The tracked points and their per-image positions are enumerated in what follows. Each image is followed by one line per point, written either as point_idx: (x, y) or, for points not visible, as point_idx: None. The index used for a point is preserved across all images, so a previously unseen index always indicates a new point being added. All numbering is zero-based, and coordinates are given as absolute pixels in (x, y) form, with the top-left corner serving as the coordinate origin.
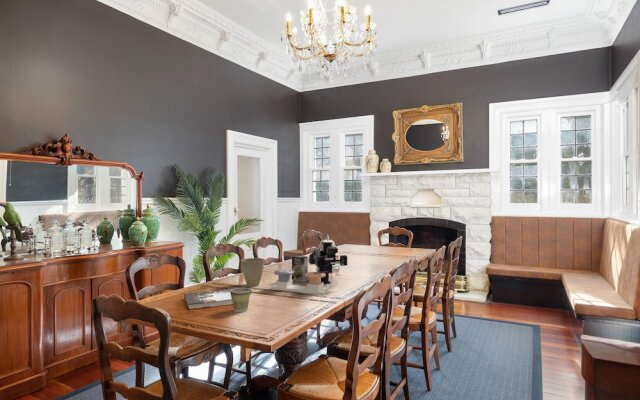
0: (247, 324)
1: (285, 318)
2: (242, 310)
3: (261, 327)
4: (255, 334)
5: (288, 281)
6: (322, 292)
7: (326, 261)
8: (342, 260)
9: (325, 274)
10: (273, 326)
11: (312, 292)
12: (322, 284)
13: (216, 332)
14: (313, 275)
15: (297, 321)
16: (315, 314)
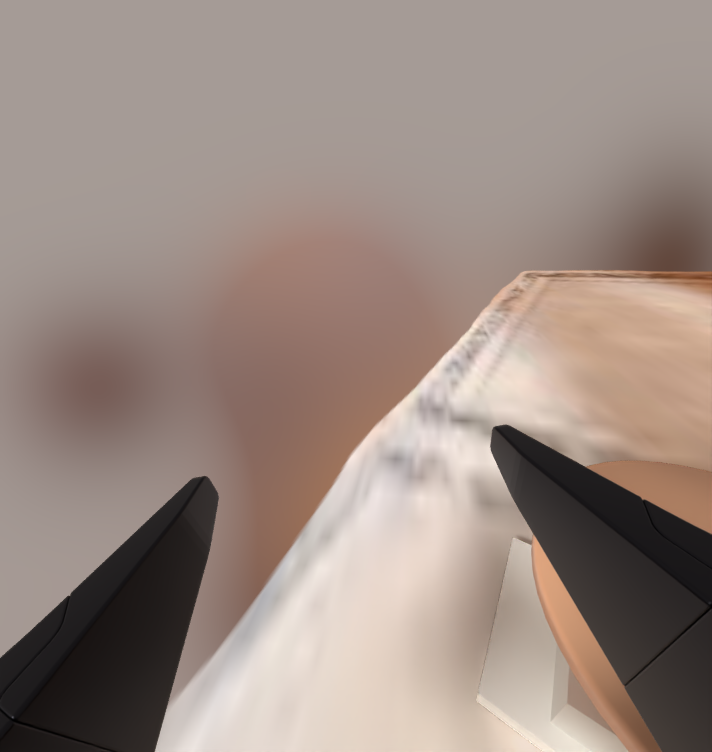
0: (630, 292)
1: (553, 314)
2: None
3: (580, 289)
4: (570, 278)
5: None
6: (516, 541)
7: (584, 469)
8: (142, 554)
9: (536, 562)
10: (556, 293)
11: None
12: (565, 660)
13: (663, 272)
14: (679, 480)
15: (513, 308)
16: (479, 332)
